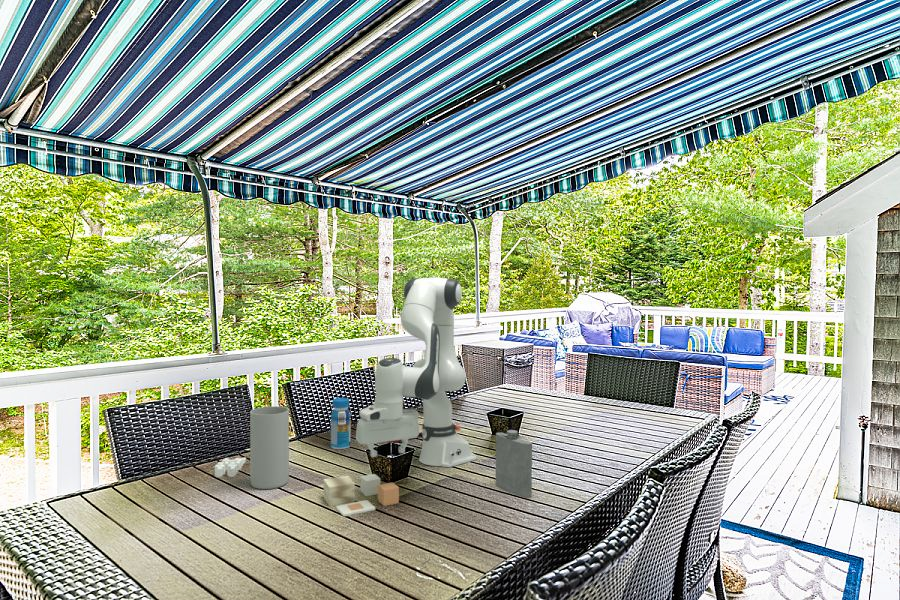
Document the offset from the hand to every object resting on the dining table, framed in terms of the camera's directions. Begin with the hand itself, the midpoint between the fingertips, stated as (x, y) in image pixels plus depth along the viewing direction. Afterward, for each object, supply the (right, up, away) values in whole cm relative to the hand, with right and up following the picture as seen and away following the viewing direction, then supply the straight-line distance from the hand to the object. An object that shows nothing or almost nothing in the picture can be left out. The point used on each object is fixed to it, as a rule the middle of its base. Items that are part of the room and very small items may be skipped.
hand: (387, 454), depth 174 cm
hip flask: (+40, -15, +11) cm, 44 cm away
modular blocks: (-61, -14, +30) cm, 69 cm away
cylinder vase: (-42, -14, +16) cm, 47 cm away
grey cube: (-7, -15, +8) cm, 18 cm away
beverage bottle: (-26, -13, +58) cm, 65 cm away
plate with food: (-3, -13, +81) cm, 82 cm away
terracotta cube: (0, -15, +1) cm, 15 cm away
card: (-9, -15, -5) cm, 18 cm away
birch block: (-16, -15, +2) cm, 22 cm away
